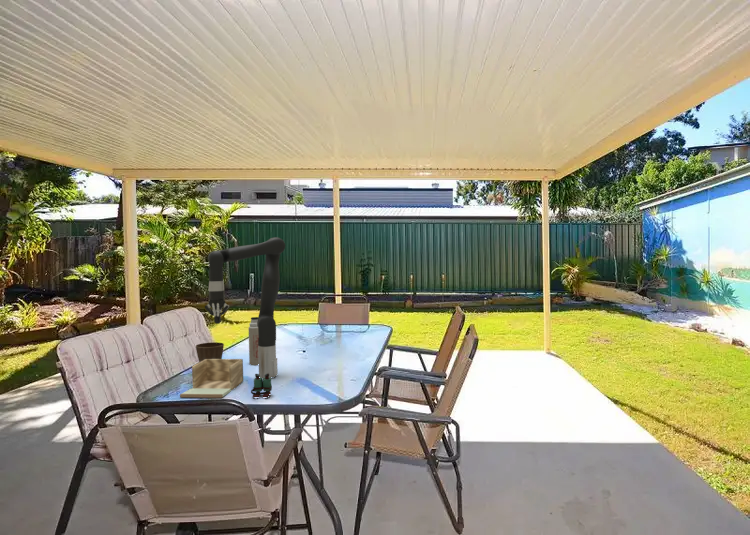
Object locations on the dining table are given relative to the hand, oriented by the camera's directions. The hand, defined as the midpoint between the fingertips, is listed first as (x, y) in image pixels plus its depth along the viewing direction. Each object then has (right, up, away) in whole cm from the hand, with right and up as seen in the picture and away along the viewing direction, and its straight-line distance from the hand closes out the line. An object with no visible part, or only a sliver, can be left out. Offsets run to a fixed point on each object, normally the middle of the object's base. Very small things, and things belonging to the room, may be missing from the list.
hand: (217, 323), depth 260 cm
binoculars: (+29, -32, -25) cm, 50 cm away
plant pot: (-11, -31, +22) cm, 39 cm away
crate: (+2, -31, -5) cm, 32 cm away
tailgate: (+1, -31, -14) cm, 34 cm away
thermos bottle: (+10, -29, +43) cm, 53 cm away
